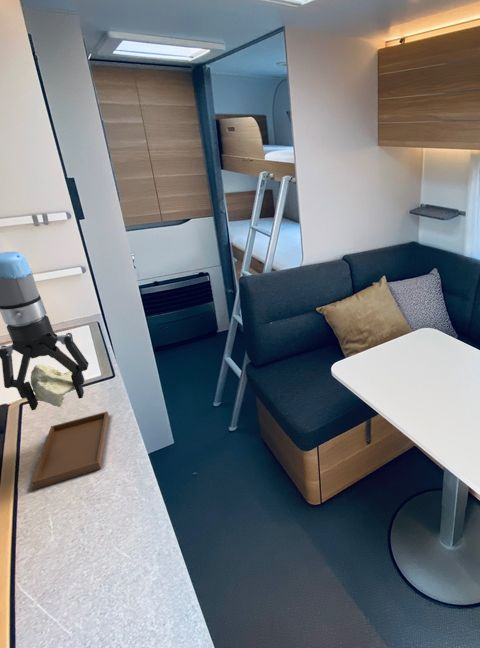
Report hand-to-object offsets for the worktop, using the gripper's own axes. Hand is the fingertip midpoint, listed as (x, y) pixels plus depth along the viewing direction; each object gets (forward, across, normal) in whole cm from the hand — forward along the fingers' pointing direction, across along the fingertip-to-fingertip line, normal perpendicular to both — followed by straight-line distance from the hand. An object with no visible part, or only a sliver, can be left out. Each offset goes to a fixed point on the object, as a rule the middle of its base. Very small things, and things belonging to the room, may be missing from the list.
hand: (58, 400), depth 102 cm
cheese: (0, +1, 0) cm, 1 cm away
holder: (+14, 0, -2) cm, 14 cm away
